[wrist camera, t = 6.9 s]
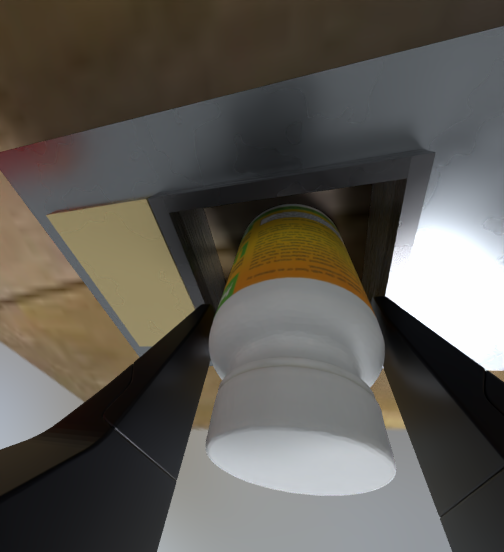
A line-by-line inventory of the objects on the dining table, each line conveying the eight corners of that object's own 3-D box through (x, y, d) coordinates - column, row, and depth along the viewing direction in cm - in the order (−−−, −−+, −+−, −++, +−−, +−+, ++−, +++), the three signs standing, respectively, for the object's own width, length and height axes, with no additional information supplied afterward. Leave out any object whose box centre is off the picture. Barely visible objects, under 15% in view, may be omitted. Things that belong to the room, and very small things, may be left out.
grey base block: (663, -5, 6) (931, -87, 4) (477, 333, 14) (519, 385, 12) (43, 146, 11) (-34, 158, 8) (160, 337, 19) (139, 374, 16)
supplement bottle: (238, 200, 12) (134, 389, 4) (350, 200, 11) (516, 430, 3) (244, 285, 15) (195, 486, 7) (331, 289, 14) (389, 517, 6)
